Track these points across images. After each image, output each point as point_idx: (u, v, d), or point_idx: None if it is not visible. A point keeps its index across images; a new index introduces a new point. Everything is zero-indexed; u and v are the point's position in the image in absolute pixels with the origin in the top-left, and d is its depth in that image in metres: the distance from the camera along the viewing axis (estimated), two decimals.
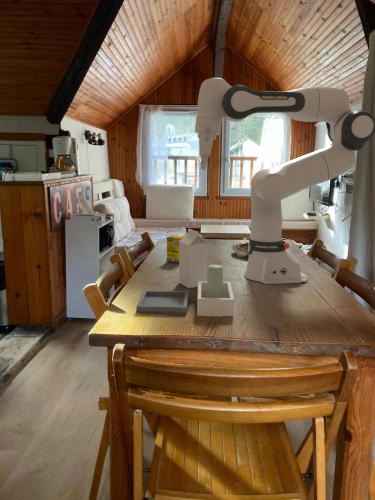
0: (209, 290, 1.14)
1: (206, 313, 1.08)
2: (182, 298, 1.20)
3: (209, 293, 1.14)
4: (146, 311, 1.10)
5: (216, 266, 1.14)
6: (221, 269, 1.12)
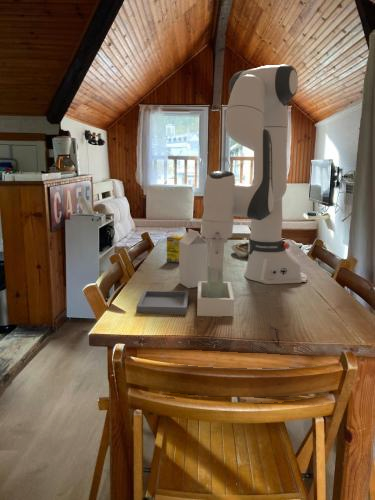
0: (209, 290, 1.14)
1: (206, 313, 1.08)
2: (182, 298, 1.20)
3: (209, 293, 1.14)
4: (146, 311, 1.10)
5: None
6: None
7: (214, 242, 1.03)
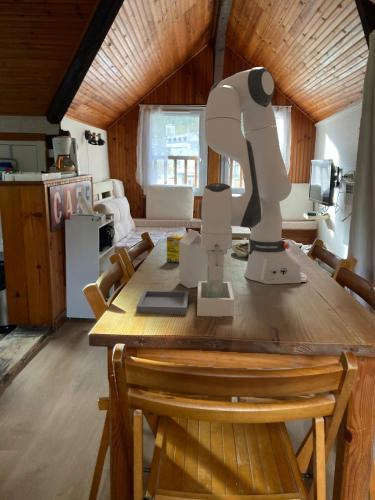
0: (209, 290, 1.14)
1: (206, 313, 1.08)
2: (182, 298, 1.20)
3: (209, 293, 1.14)
4: (146, 311, 1.10)
5: None
6: None
7: (214, 254, 1.04)
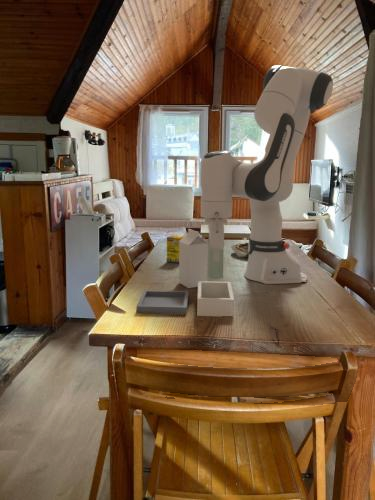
0: (210, 260, 1.12)
1: (206, 313, 1.08)
2: (182, 298, 1.20)
3: (210, 263, 1.12)
4: (146, 311, 1.10)
5: None
6: None
7: (214, 222, 1.02)
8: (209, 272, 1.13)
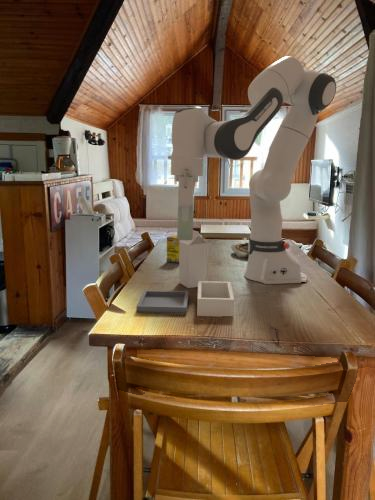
0: (179, 221, 1.09)
1: (206, 313, 1.08)
2: (182, 298, 1.20)
3: (179, 224, 1.09)
4: (146, 311, 1.10)
5: None
6: None
7: (183, 177, 0.99)
8: (178, 234, 1.10)
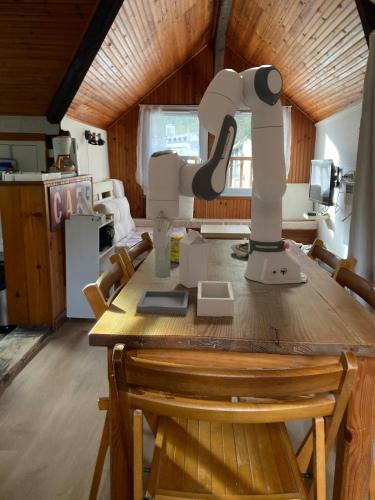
0: (156, 259, 1.12)
1: (206, 313, 1.08)
2: (182, 298, 1.20)
3: (156, 262, 1.12)
4: (146, 311, 1.10)
5: None
6: None
7: (157, 220, 1.03)
8: (156, 271, 1.13)
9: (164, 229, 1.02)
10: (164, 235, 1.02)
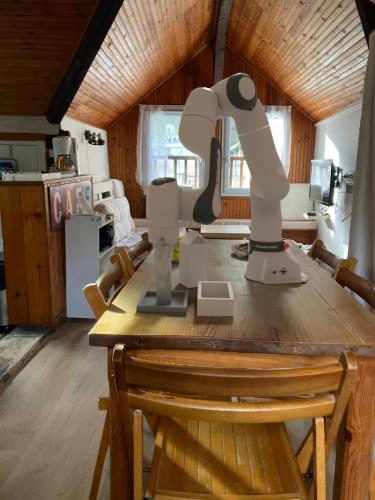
0: (157, 287, 1.14)
1: (206, 313, 1.08)
2: (182, 298, 1.20)
3: (157, 290, 1.14)
4: (146, 311, 1.10)
5: None
6: None
7: (158, 248, 1.04)
8: (157, 298, 1.15)
9: (165, 257, 1.03)
10: (165, 263, 1.04)
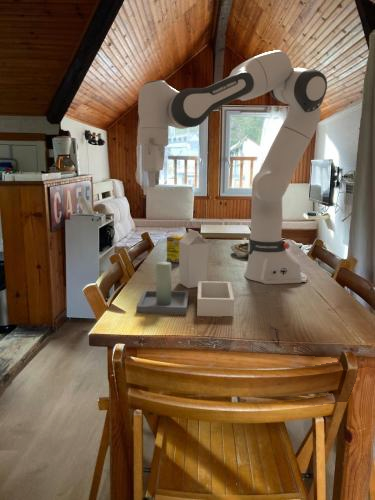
0: (157, 287, 1.14)
1: (206, 313, 1.08)
2: (182, 298, 1.20)
3: (157, 290, 1.14)
4: (146, 311, 1.10)
5: (164, 263, 1.14)
6: (168, 266, 1.13)
7: (147, 144, 1.09)
8: (157, 299, 1.15)
9: (154, 152, 1.08)
10: (154, 157, 1.08)
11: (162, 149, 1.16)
